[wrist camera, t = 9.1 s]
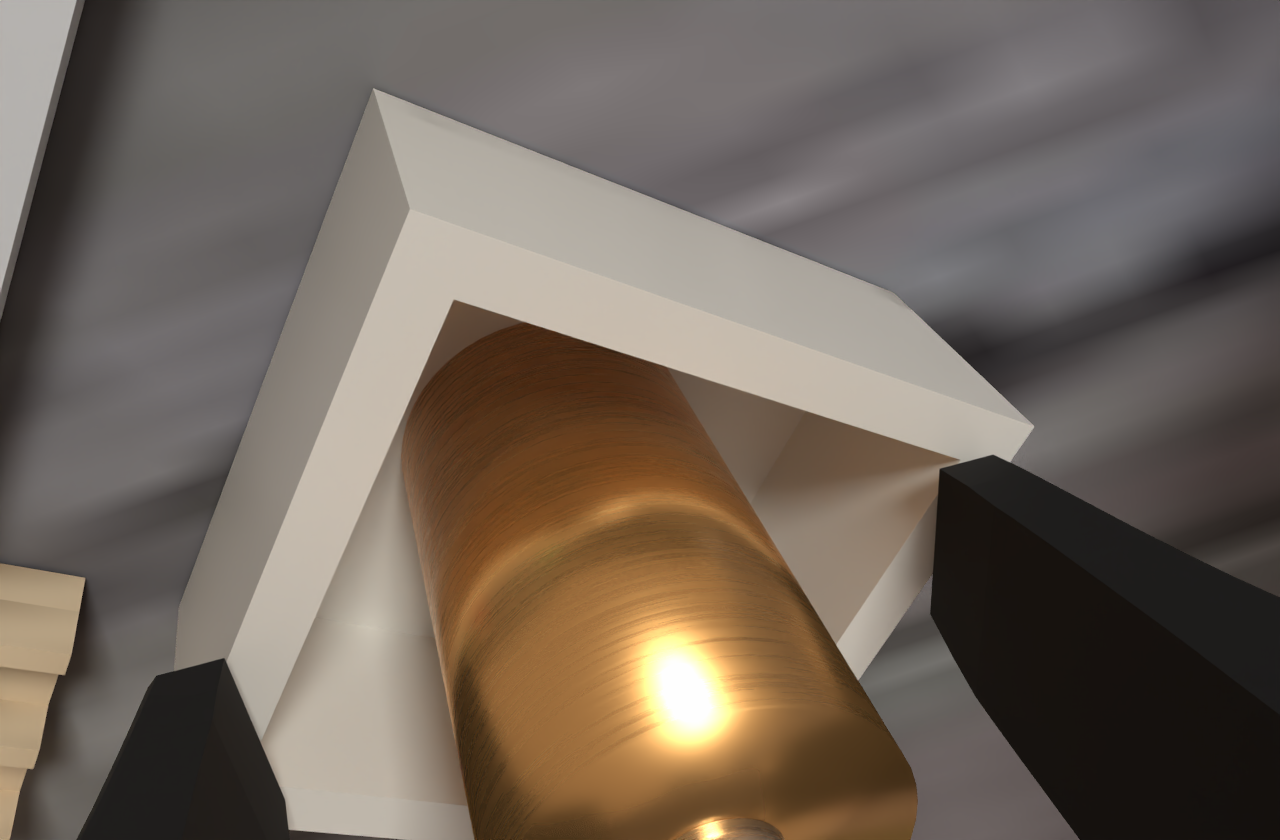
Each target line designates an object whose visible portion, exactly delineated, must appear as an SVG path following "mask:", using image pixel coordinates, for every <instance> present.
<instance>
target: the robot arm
mask: <svg viewBox="0 0 1280 840" xmlns="http://www.w3.org/2000/svg"><path fill="white" fill-rule="evenodd" d="M930 614H931V616H932V618H933V620H934V622H935V624H936V626H937V627H938V629H939V631H940V633H941V635H942V637H943V639H944V641H945V643H946V644H947V646H948V648H949V650H950V652H951V654H952V656H953V658H954V660H955V661H956V663H957V665H958V667H959V668H960V670H961V672H962V674H963V675H964V677H965V679H966V681H967V682H968V684H969V686H970V688H971V689H972V691H973V693H974V695H975V696H976V698H977V699H978V701H979V702H980V704H981V705H982V706H983V708H984V709H985V711H986V712H987V713H988V715H989V716H990V718H991V719H992V720H993V722H994V723H995V725H996V726H997V727H998V729H999V730H1000V731H1001V733H1002V734H1003V736H1004V737H1005V738H1006V740H1007V741H1008V742H1009V744H1010V745H1011V747H1012V748H1013V749H1014V751H1015V752H1016V754H1017V755H1018V756H1019V758H1020V759H1021V760H1022V762H1023V763H1024V764H1025V766H1026V767H1027V769H1028V770H1029V771H1030V773H1031V774H1032V775H1033V777H1034V778H1035V779H1036V781H1037V782H1038V783H1039V785H1040V786H1041V788H1042V789H1043V790H1044V792H1045V793H1046V794H1047V796H1048V797H1049V798H1050V800H1051V801H1052V802H1053V804H1054V805H1055V806H1056V808H1057V809H1058V811H1059V812H1060V813H1061V815H1062V816H1063V817H1064V819H1065V820H1066V821H1067V823H1068V824H1069V825H1070V827H1071V828H1072V830H1073V831H1074V832H1075V834H1076V835H1077V836H1078V838H1079V839H1080V840H1280V597H1277V596H1275V595H1273V594H1271V593H1269V592H1266V591H1264V590H1262V589H1260V588H1257V587H1255V586H1253V585H1251V584H1248V583H1246V582H1244V581H1242V580H1240V579H1237V578H1235V577H1233V576H1231V575H1229V574H1227V573H1225V572H1223V571H1221V570H1219V569H1216V568H1214V567H1212V566H1210V565H1208V564H1206V563H1204V562H1202V561H1200V560H1198V559H1196V558H1194V557H1192V556H1190V555H1188V554H1186V553H1184V552H1182V551H1180V550H1178V549H1176V548H1174V547H1172V546H1170V545H1168V544H1166V543H1164V542H1162V541H1160V540H1158V539H1156V538H1154V537H1152V536H1150V535H1148V534H1146V533H1144V532H1142V531H1140V530H1138V529H1136V528H1135V527H1133V526H1131V525H1129V524H1127V523H1125V522H1123V521H1121V520H1119V519H1117V518H1115V517H1113V516H1112V515H1110V514H1108V513H1106V512H1104V511H1102V510H1100V509H1098V508H1096V507H1094V506H1093V505H1091V504H1089V503H1087V502H1085V501H1083V500H1081V499H1079V498H1077V497H1076V496H1074V495H1072V494H1070V493H1068V492H1066V491H1064V490H1062V489H1060V488H1059V487H1057V486H1055V485H1053V484H1051V483H1049V482H1047V481H1045V480H1043V479H1042V478H1040V477H1038V476H1036V475H1034V474H1032V473H1030V472H1028V471H1026V470H1024V469H1022V468H1020V467H1018V466H1016V465H1014V464H1012V463H1010V462H1008V461H1006V460H1004V459H1002V458H1000V457H998V456H995V455H989V456H986V457H982V458H978V459H974V460H971V461H967V462H963V463H959V464H955V465H952V466H948V467H944V468H940V470H939V485H938V501H937V517H936V533H935V548H934V564H933V580H932V596H931V612H930ZM77 840H290V838H289V829H288V820H287V811H286V802H285V798H284V796H283V794H282V791H281V789H280V787H279V784H278V782H277V779H276V777H275V775H274V772H273V770H272V768H271V765H270V763H269V761H268V758H267V756H266V754H265V751H264V749H263V747H262V744H261V742H260V740H259V737H258V735H257V733H256V730H255V728H254V726H253V723H252V721H251V719H250V716H249V714H248V712H247V709H246V707H245V705H244V702H243V700H242V698H241V695H240V693H239V691H238V688H237V686H236V684H235V681H234V679H233V677H232V674H231V672H230V670H229V667H228V665H227V663H226V660H225V658H222V659H218V660H215V661H211V662H207V663H203V664H199V665H196V666H192V667H188V668H184V669H180V670H177V671H173V672H169V673H165V674H162V675H158V676H156V677H155V679H154V680H153V681H152V683H151V684H150V686H149V687H148V689H147V691H146V693H145V695H144V698H143V700H142V702H141V704H140V707H139V709H138V711H137V713H136V716H135V718H134V720H133V722H132V725H131V727H130V729H129V731H128V734H127V736H126V738H125V740H124V742H123V745H122V747H121V749H120V751H119V753H118V756H117V758H116V760H115V762H114V764H113V766H112V768H111V771H110V773H109V775H108V777H107V779H106V781H105V783H104V785H103V787H102V789H101V792H100V794H99V796H98V798H97V800H96V802H95V804H94V806H93V808H92V810H91V812H90V814H89V816H88V818H87V820H86V822H85V824H84V826H83V828H82V830H81V832H80V834H79V836H78V838H77Z"/></svg>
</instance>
